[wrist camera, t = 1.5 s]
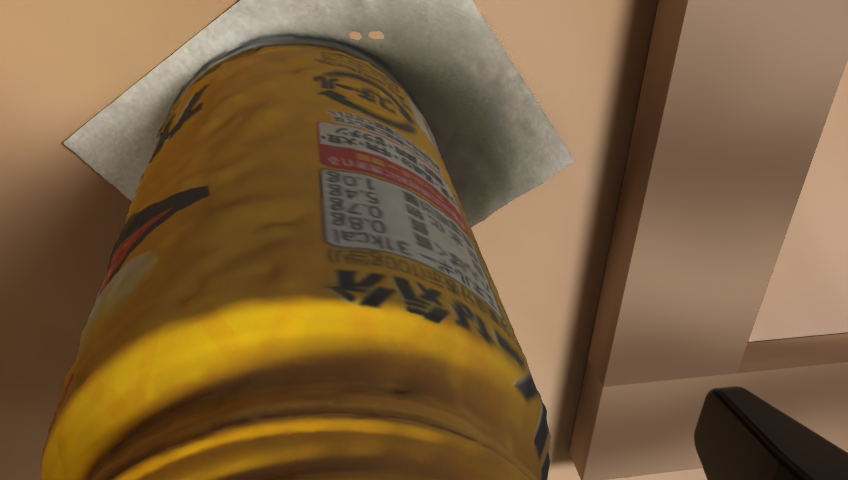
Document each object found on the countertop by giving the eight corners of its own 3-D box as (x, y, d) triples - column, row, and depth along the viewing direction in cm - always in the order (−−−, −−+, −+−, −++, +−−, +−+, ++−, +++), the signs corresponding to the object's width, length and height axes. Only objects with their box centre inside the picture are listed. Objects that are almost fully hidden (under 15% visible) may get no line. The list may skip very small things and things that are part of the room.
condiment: (65, 139, 15) (-388, 871, 5) (392, -125, 13) (727, 164, 3) (294, 338, 19) (303, 978, 9) (570, 154, 17) (975, 683, 7)
